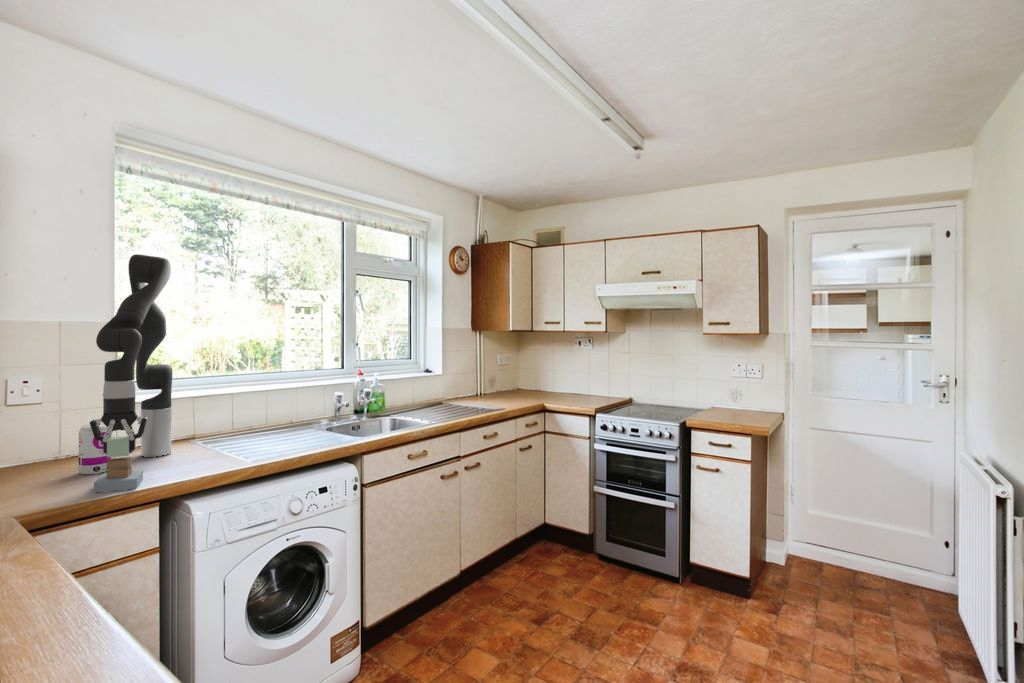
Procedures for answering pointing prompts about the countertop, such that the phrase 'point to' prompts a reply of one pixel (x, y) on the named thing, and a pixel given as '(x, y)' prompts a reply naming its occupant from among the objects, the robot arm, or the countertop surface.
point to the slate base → (118, 482)
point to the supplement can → (91, 451)
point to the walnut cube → (118, 467)
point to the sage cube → (118, 446)
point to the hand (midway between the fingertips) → (119, 452)
